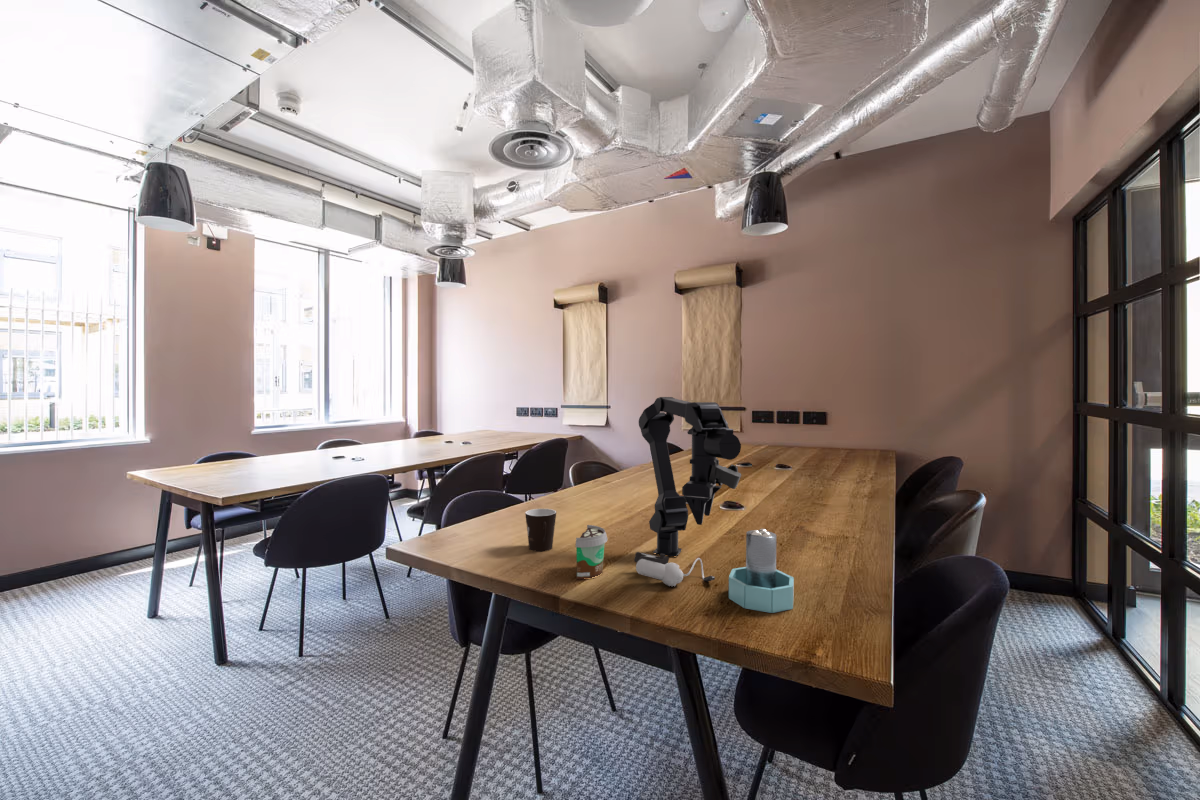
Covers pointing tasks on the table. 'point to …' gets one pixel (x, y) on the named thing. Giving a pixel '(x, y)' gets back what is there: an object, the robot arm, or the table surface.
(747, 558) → the steel cylinder with balls
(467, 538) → the table surface
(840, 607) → the table surface
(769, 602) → the bowl
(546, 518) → the coffee mug
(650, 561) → the clip-on lamp
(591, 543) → the food container
